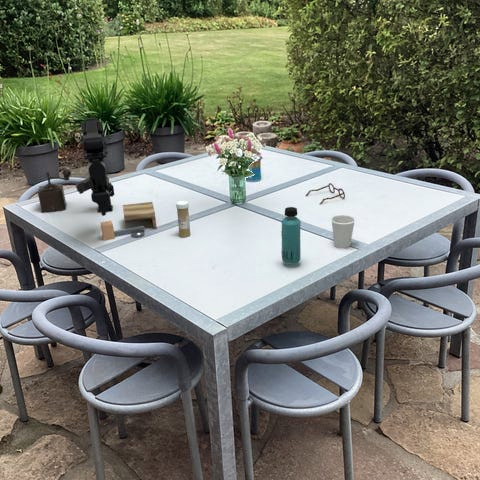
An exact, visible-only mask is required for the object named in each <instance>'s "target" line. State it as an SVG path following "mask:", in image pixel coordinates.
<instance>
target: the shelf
mask: <svg viewBox="0 0 480 480" xmlns="http://www.w3.org/2000/svg"><path fill="white" fill-rule="evenodd" d="M122 209H123V210H122V211H123V212H122V213H123V221H124V222H125V223H127V222H137V221H145V220H146V221H147V220H151V224H152V227H153V230H157V229H158V227H157V220H156V212H155V208H154V203H153V201H149V202H147V201H146V202H138V203H130V204H122Z"/></svg>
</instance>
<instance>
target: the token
mask: <svg viewBox="0 0 480 480" xmlns="http://www.w3.org/2000/svg"><path fill="white" fill-rule="evenodd" d="M130 235H131V237H132V238H134V239H139V238H142V237H144V236H145V231H144V230H134V231H132V232H131V234H130Z"/></svg>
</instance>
